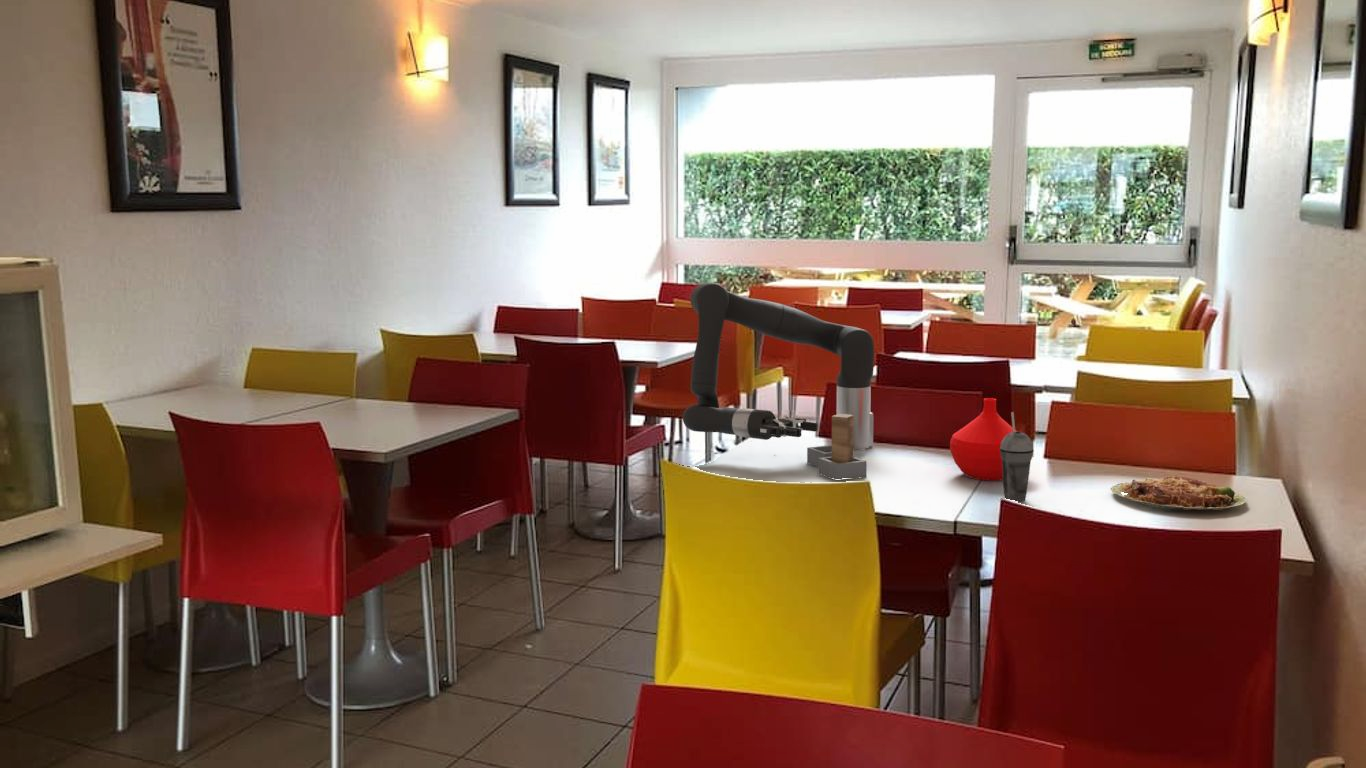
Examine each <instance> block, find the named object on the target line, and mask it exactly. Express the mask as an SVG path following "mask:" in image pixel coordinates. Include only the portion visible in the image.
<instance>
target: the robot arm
mask: <svg viewBox="0 0 1366 768" xmlns="http://www.w3.org/2000/svg"><path fill="white" fill-rule="evenodd" d="M689 302H690V305H691V307H692V309H693V310H694V312H695V313H696V314H698V315H697V316H698V317H697V318H698V332H697V333H698V334H697V340H696V346H695V349H694V350H695V351H694V355H693V359H692V363H691V372H690V373H691V375H690V376H691V377H690V387H689V388H690V392H691V393H692V394H693V395H695V396H696V400H697V401H696V402H697V404H693V405H690V406H688V407H687V408H686V409H684V411H683V414H682V422H683V424H684V427H686V428H687V429H688V430H690V431H692V432H697V433H720V434H725V435H734V436H740V437H743V438H750V439H758V440H763V441H764V440H765V441H767V440H770V439H771V438H779V439H780V438H781V437H784V438H785V437H795V438H800V437H801V436H802V431H808V432H815V433H816V432H817V431H818V430H819V427H818V426H819V424H818V422H814V421H807V418H800V417H790V416H786V417H778V418H776V416H775V414H774V413H773V411H771V410H765V409H756V408H737V407H720V404H719V398H718V392H717V386H718V377H719V376H718V375H719V374H718V372H719V358H720V348H721V339H722V333H723V328H724V325H725V324H724V323H725V321H727V322H733V323H735V324H738V325H741V326H743V327H746V328H748V329H750V330H753V331H755V332H757V333H760V334H763V335H764V336H768V337H771V338H774V339H777V340H782V341H784V342H788V343H794V344H797V345H798V344H799V345H808V346H814V347H816V348H820V349H823V350H825V351H828V352H831V353H832V354H835V355H837V356H839V357H840V358H841V359H840V371H839V373H838V374H837V376H836V415H837V414H847V415H854V446H853V451H860V449H862V450H866V449H865V448H867V449H869V448H868V447H869V446H872V445H873V446H874V413H873V412H871V399H872V398H871V389H872V388H871V386H872V385H871V384H872V383H871V382H872V379H873V378H872V377H873V375H874V365H875V342H874V339H873V336H872V335H871V333H870V332H869V331H867V330H866V329H862V328H860V327H857V326H851V325H850V326H849V325H844V324H838V323H834V322H829V321H825V320H823V319H820V318H819V317H816V316H813V315H811V314H809V313H807V312H804V311H802V310H800V309H799V308H795V307H792V306H790V305H785V304H782V303H779V302H773V301H770V300H764V299H759V298H750V297H745V296H742V295H738V294H737V293H733V292H731V291H728V290H727V289H726V288H725V287H724V286H723V285H721V284H720V283H717V282H703V283H701V284H699V285H697V286H696V287H695V288H693V290H692V291H691V293H690V296H689ZM799 424H800V425H799Z"/></svg>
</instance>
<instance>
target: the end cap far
mask: <svg viewBox="0 0 1366 768" xmlns="http://www.w3.org/2000/svg"><path fill="white" fill-rule="evenodd" d="M806 453H807V454H806V456H807V457H806V462H807V464H809V463H810V465H813V466H815V467H817V468H819V458H823V457H831V456H832V444H829V445H828V444H827V445H826V444H825V445H817V446H810V447H809V446H808V447H806Z"/></svg>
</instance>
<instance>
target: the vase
mask: <svg viewBox="0 0 1366 768" xmlns="http://www.w3.org/2000/svg"><path fill="white" fill-rule="evenodd" d="M1011 432H1013V427H1012V425H1010V424H1009V423H1008V422H1007V421H1006V420H1004V419H1003V418H1002V417H1001V416H1000V414H999V413H998V412H997V398H993V397H989V398H988V397H985V398H983V409H982V412H981V413H980V414H979V415H978V416H977V417H976V418H974V419H973V420H972V421H970V422H969V423H967V424H966V425H965V426H963V427H962V428H960V429H959V430H957V431H956V432H954V433H953V434H952V436H951V439H950V442H949V451H950V453H951V457H952V458H953V461H954V463H955V464H956V466H957V467H958V469H959V470H960V471H961V473H963V474H964V475H965V476H967V477H968V478H972V479H974V480H980V481H991V482H993V481H1003V471H1002V458H1001V454H1000V446H1001V442H1002V440H1003V438H1004V437H1005V436H1006V435H1007V434H1009V433H1011ZM1015 432H1019V431H1018V430H1016V429H1015Z"/></svg>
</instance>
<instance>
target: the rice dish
mask: <svg viewBox="0 0 1366 768" xmlns="http://www.w3.org/2000/svg"><path fill="white" fill-rule="evenodd" d="M1110 490H1111V492H1112V493H1114V494H1115V495H1117V496H1120V497H1122V498H1125V499H1128V500H1131V501H1132V502H1137V503H1139V504H1142V505H1146V506H1151V507H1152V506H1153V507H1157V508H1159V509H1160V508H1166V509H1169V508H1170V509H1171V508H1179V509H1181V510H1185V511H1187V510H1188V511H1189V510H1196V511H1198V510H1199V511H1200V510H1209V511H1222V510H1225V509H1230V508H1232V507H1237V506H1242V505H1244V504H1245V503H1247V500H1246V498H1245V497H1244V496H1243V495H1240V494H1238V493H1236V492H1235V491H1234V490H1233V488H1232V487H1230V486H1220V487H1218V486H1217V485H1216V484H1208V483H1207V482H1206V481H1205V480H1203V481H1202V480H1198V479H1193V478H1189V477H1185V476H1177V475H1167V476H1165V477H1164V478H1163V477H1161V478H1153V477H1152V478H1151V477H1145V480H1140V479H1139V480H1136V479H1133V480H1132V481H1130V482H1124V483H1123V482H1121V483H1117V484H1115V485H1112V486H1111V487H1110ZM1121 492H1124V493H1128V494H1127V495H1124V496H1122V494H1121ZM1231 503H1232V505H1231Z"/></svg>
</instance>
